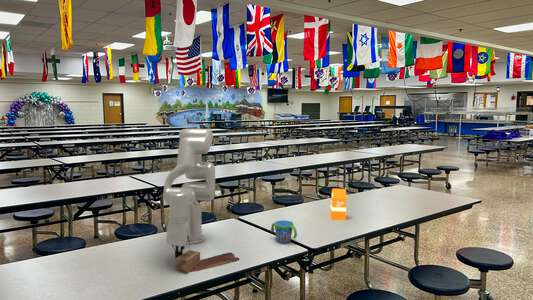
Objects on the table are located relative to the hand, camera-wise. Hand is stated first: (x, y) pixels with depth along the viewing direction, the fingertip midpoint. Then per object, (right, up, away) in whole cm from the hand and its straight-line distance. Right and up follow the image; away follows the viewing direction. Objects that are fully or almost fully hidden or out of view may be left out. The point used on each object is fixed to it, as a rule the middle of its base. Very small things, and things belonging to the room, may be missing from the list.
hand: (178, 258), depth 163 cm
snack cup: (+49, -1, +32) cm, 58 cm away
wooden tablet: (+14, -4, +4) cm, 15 cm away
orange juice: (+87, +4, +74) cm, 114 cm away
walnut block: (+5, -4, -2) cm, 6 cm away
